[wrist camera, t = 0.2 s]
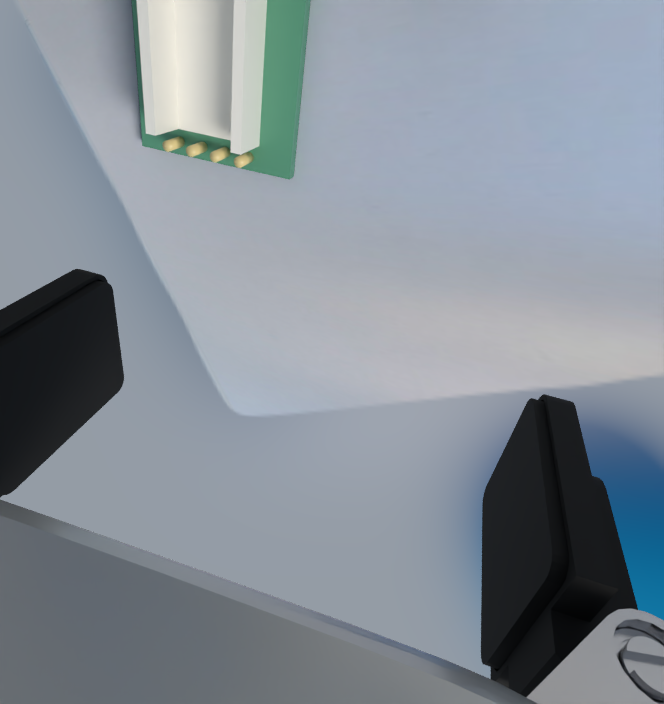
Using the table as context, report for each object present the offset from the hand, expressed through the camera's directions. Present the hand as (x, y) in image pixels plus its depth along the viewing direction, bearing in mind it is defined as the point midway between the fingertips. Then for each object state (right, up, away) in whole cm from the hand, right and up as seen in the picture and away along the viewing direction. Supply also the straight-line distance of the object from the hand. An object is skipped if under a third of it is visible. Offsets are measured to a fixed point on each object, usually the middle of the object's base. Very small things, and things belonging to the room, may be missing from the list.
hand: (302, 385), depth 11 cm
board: (-7, +24, +25) cm, 35 cm away
